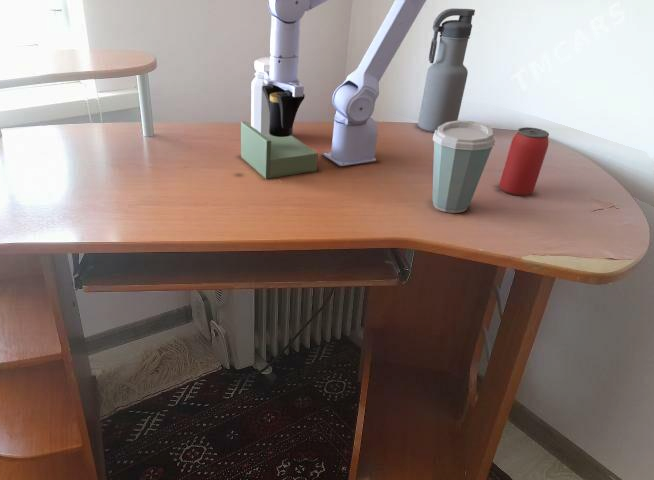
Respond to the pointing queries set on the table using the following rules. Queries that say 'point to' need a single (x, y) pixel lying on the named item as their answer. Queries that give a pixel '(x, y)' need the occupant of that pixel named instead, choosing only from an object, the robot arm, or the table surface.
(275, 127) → the canister
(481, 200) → the table surface
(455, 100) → the water bottle
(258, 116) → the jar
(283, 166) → the shelf
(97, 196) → the table surface
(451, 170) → the disposable coffee cup
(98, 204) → the table surface
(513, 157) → the beer can
